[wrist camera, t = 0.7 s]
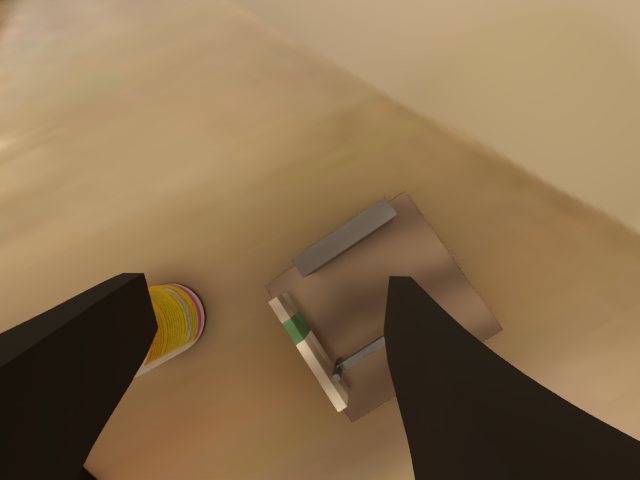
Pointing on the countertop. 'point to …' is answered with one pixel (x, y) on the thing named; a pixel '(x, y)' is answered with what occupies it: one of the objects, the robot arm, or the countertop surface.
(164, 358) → the supplement bottle
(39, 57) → the countertop surface
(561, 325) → the countertop surface
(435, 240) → the base
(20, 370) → the robot arm
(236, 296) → the countertop surface
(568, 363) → the countertop surface
